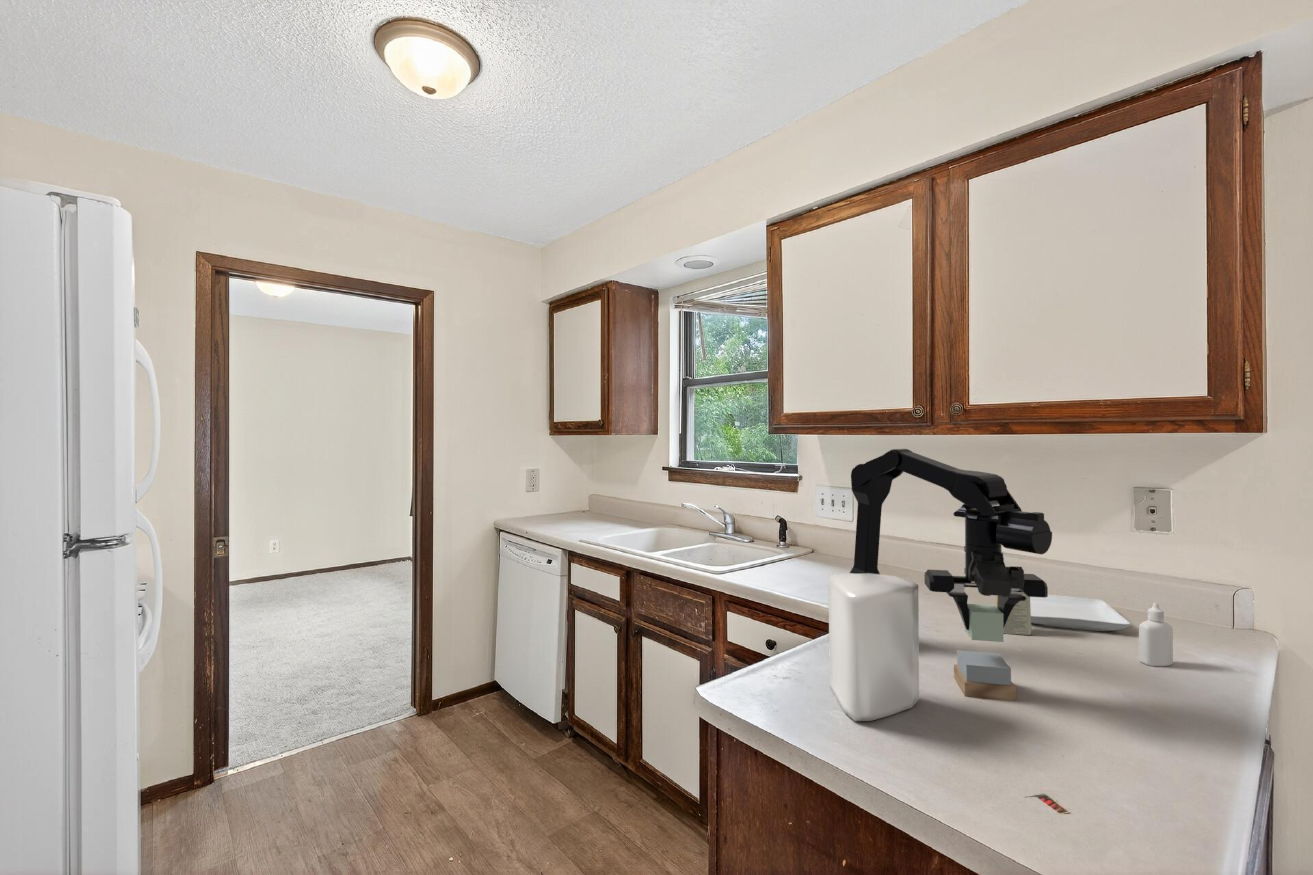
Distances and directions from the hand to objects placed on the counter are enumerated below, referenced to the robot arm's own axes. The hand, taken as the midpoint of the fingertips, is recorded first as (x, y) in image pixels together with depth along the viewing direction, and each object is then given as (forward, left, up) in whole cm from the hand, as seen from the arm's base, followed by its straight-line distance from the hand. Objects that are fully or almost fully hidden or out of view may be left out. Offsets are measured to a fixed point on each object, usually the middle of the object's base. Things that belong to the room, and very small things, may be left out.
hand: (983, 630), depth 106 cm
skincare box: (+15, +34, -11) cm, 39 cm away
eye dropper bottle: (+36, +20, -11) cm, 43 cm away
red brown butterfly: (-2, -34, -11) cm, 36 cm away
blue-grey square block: (0, 0, -8) cm, 8 cm away
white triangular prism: (-19, -9, -11) cm, 24 cm away
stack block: (0, 0, -1) cm, 1 cm away
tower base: (0, 0, -11) cm, 11 cm away
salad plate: (+30, +47, -11) cm, 57 cm away
